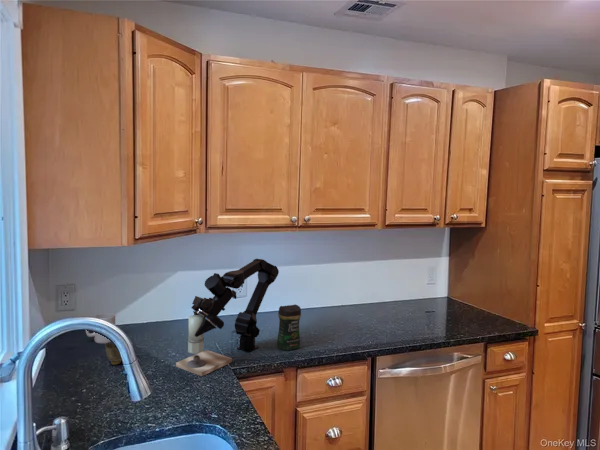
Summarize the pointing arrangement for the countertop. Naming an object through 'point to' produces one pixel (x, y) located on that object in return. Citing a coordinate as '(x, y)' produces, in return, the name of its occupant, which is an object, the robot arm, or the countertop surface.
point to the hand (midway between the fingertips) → (192, 333)
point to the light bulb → (194, 342)
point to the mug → (99, 338)
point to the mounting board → (204, 362)
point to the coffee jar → (289, 327)
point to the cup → (112, 354)
